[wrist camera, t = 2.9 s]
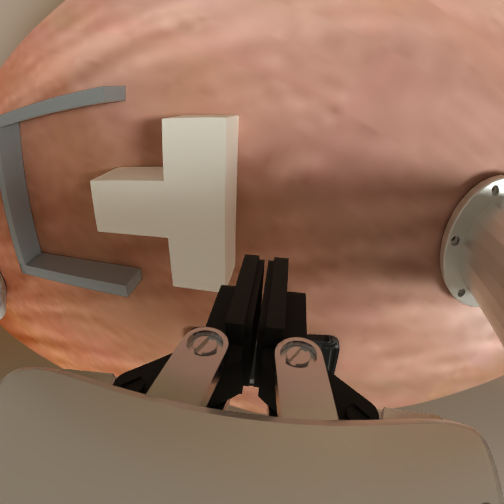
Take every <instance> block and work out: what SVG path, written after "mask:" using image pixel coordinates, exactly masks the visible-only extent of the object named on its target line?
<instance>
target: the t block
mask: <svg viewBox="0 0 504 504" xmlns="http://www.w3.org/2000/svg"><path fill="white" fill-rule="evenodd" d="M238 123H239V115H217V114H206V115H180V116H174V117H168V118H163V119H162V150H163V167H117V168H115V169H113V170H111V171H109V172H107V173H105V174H103V175H100V176H98V177H96V178H94V179H92V180H90V185H91V192H92V199H93V206H94V213H95V219H96V225H97V230H98V232H109V233H120V234H131V235H142V236H153V237H164V238H168V243H169V254H170V263H171V272H172V280H173V286H175V287H182V288H189V289H197V290H205V291H213V292H219V289H220V287H221V285H228V284H229V281H230V279H231V276H232V273H233V270H234V267H235V246H236V195H237V156H238Z"/></svg>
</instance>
